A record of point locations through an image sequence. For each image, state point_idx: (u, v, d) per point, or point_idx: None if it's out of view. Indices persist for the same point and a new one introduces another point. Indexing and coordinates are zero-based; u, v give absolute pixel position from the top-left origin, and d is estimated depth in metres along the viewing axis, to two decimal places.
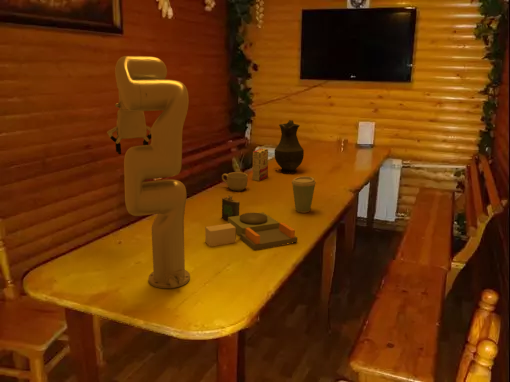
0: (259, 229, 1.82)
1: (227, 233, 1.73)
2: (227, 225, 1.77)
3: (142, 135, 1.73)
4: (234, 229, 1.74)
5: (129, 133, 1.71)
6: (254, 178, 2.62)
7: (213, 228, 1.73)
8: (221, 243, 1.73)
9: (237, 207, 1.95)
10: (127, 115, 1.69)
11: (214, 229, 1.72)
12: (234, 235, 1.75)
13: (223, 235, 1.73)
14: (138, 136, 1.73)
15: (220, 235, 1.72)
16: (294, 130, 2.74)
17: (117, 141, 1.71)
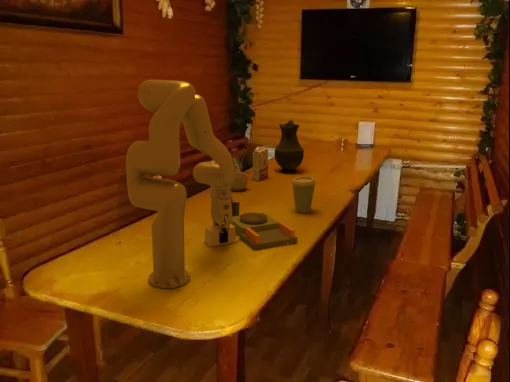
0: (259, 229, 1.82)
1: None
2: None
3: None
4: (234, 228, 1.75)
5: None
6: (254, 178, 2.62)
7: (213, 228, 1.73)
8: (221, 243, 1.73)
9: (237, 207, 1.95)
10: None
11: (214, 229, 1.72)
12: (234, 234, 1.75)
13: None
14: None
15: None
16: (294, 130, 2.74)
17: None
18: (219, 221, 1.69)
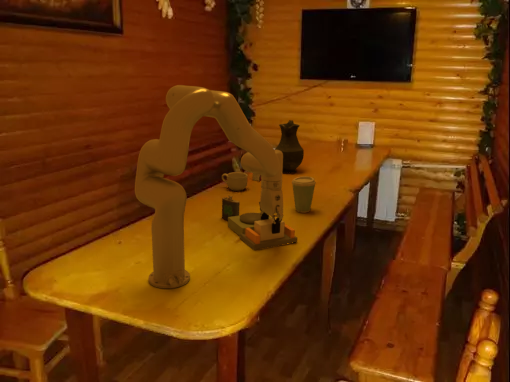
0: None
1: None
2: (275, 219, 1.77)
3: None
4: (283, 223, 1.75)
5: None
6: (254, 178, 2.62)
7: (263, 222, 1.73)
8: (270, 237, 1.74)
9: (237, 207, 1.95)
10: None
11: (264, 223, 1.72)
12: (283, 229, 1.76)
13: None
14: None
15: (269, 230, 1.73)
16: (294, 130, 2.74)
17: None
18: (270, 212, 1.69)
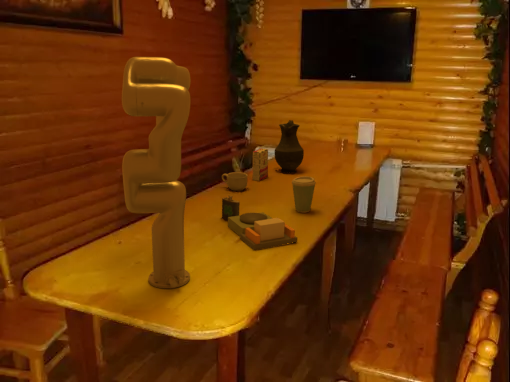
0: None
1: (276, 227, 1.74)
2: (275, 219, 1.77)
3: None
4: (283, 223, 1.75)
5: None
6: (254, 178, 2.62)
7: (263, 222, 1.73)
8: (270, 237, 1.74)
9: (237, 207, 1.95)
10: None
11: (264, 223, 1.72)
12: (283, 229, 1.76)
13: (272, 229, 1.73)
14: None
15: (269, 230, 1.73)
16: (294, 130, 2.74)
17: None
18: None
